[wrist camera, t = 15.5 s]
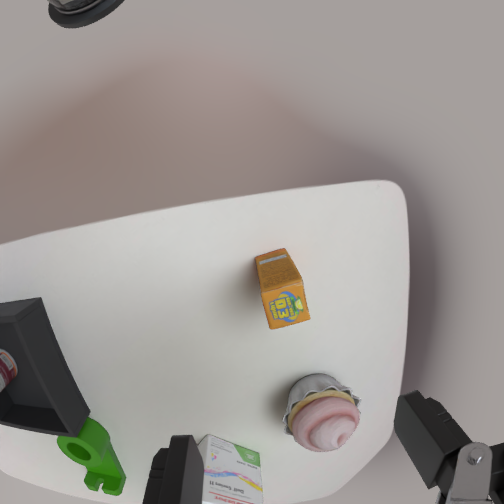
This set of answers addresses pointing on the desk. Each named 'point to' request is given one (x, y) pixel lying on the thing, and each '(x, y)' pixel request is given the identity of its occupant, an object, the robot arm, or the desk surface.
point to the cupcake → (321, 413)
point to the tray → (38, 374)
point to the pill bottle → (6, 369)
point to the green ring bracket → (95, 457)
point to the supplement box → (281, 289)
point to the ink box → (230, 473)
